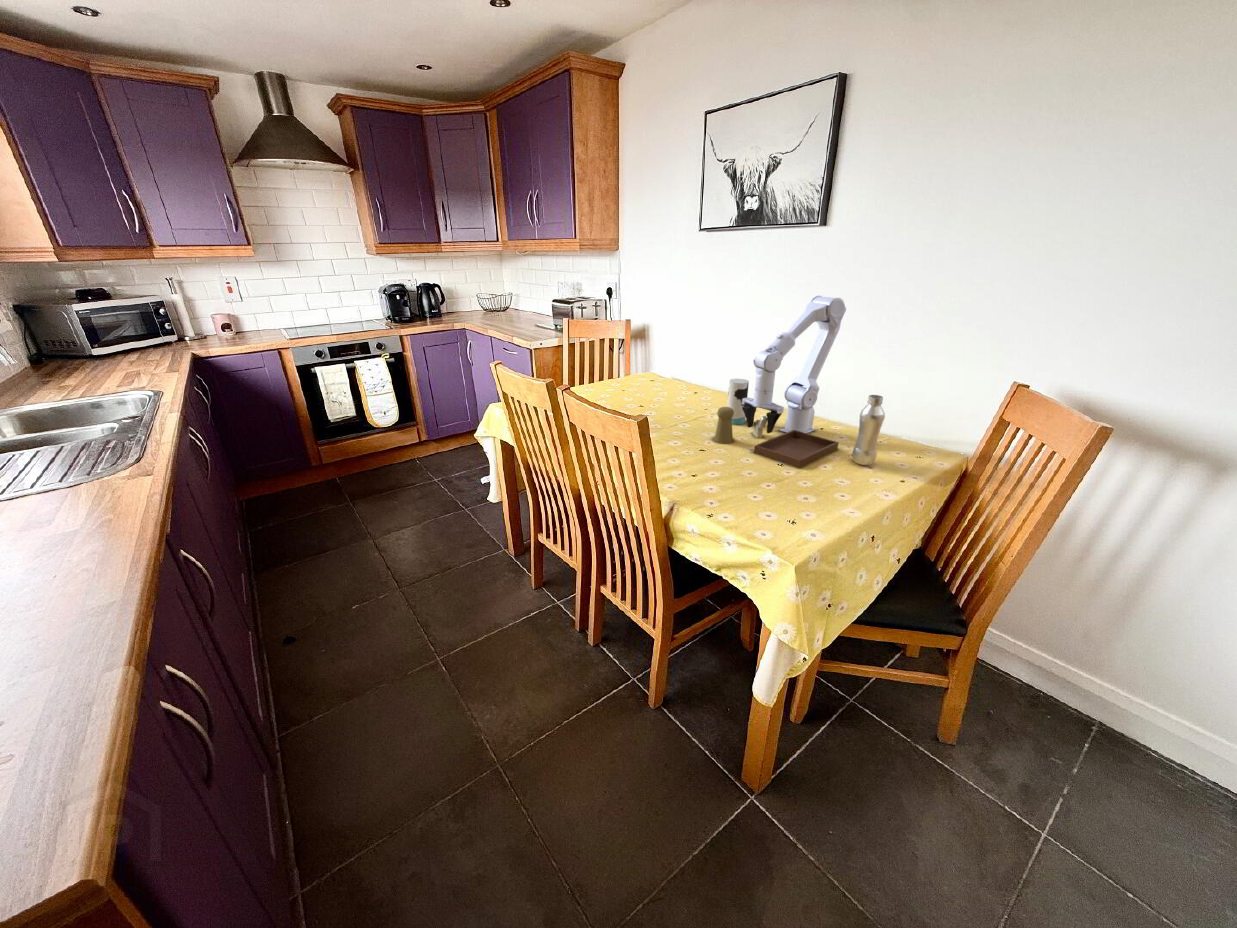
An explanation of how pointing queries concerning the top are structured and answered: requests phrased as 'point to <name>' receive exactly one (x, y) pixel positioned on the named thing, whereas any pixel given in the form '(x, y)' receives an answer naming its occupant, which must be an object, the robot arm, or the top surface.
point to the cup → (737, 399)
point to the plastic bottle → (869, 431)
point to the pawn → (724, 425)
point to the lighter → (759, 426)
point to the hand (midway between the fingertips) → (759, 429)
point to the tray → (796, 448)
